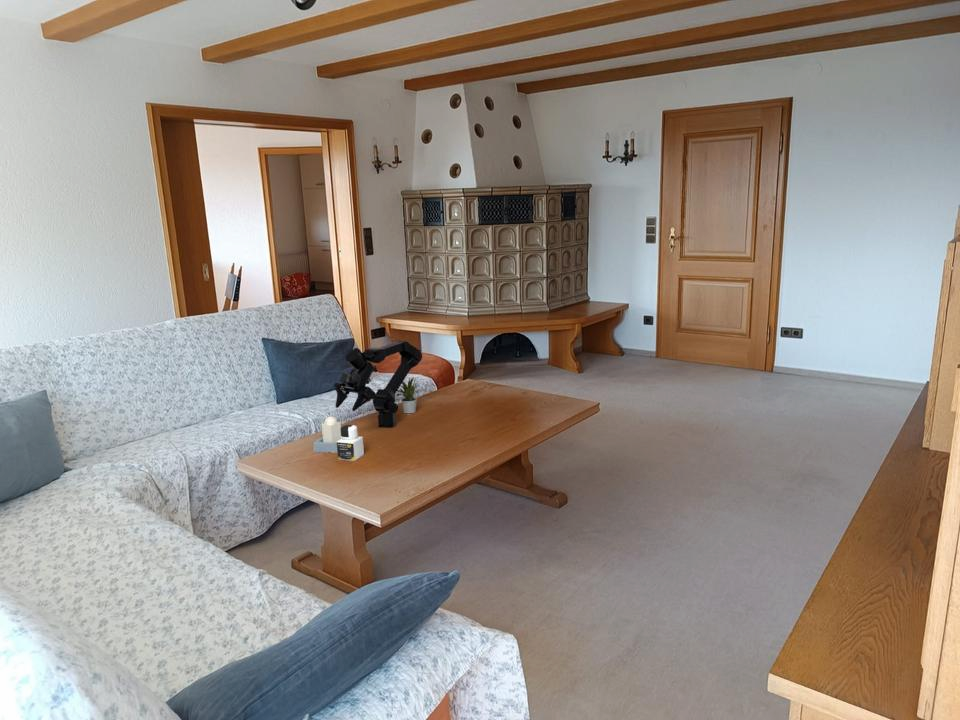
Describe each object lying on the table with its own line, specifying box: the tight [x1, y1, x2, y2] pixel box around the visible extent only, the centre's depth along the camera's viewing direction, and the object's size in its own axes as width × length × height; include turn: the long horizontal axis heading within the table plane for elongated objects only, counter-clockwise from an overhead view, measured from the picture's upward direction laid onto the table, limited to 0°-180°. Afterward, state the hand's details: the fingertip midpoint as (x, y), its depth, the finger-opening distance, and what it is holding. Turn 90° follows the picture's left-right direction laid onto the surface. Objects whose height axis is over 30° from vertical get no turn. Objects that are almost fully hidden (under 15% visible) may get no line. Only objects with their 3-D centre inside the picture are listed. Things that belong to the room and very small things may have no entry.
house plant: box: [395, 376, 423, 414], centre depth 297 cm, size 14×14×16 cm
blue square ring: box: [312, 435, 338, 454], centre depth 255 cm, size 11×11×4 cm
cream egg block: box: [321, 416, 342, 443], centre depth 254 cm, size 5×5×12 cm
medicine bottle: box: [336, 424, 365, 462], centre depth 243 cm, size 7×7×12 cm
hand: (344, 409), depth 259 cm, fingers open, 9 cm apart
